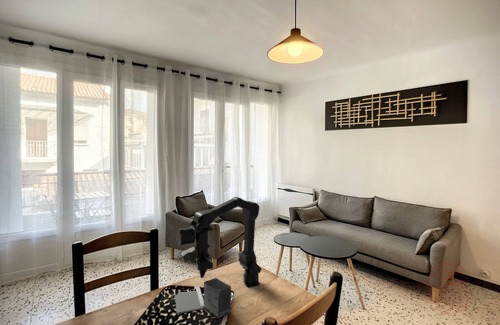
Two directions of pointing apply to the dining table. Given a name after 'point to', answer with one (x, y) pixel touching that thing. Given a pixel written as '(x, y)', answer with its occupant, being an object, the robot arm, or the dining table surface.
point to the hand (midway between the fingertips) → (201, 277)
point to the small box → (217, 297)
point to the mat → (189, 301)
